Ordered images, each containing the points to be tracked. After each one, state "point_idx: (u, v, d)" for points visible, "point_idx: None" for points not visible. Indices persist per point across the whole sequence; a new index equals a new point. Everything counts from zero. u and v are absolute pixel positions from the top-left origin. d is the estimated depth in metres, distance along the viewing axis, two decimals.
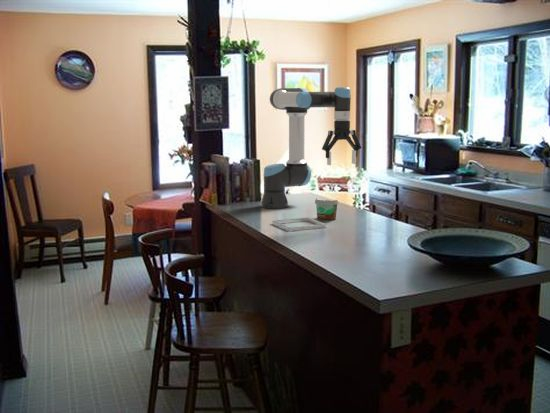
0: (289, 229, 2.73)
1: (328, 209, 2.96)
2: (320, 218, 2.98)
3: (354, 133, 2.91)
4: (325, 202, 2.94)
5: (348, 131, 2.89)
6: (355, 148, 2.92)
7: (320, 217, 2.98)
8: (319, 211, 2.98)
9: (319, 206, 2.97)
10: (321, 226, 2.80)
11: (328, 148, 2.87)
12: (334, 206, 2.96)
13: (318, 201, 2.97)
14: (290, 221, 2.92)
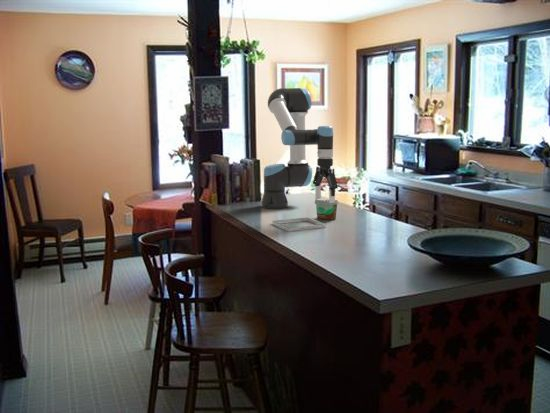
0: (289, 229, 2.73)
1: (328, 209, 2.96)
2: (320, 218, 2.98)
3: (329, 172, 2.88)
4: (325, 202, 2.94)
5: (326, 169, 2.91)
6: (330, 187, 2.89)
7: (320, 217, 2.98)
8: (319, 211, 2.98)
9: (319, 206, 2.97)
10: (321, 226, 2.80)
11: (315, 183, 3.02)
12: (334, 206, 2.96)
13: (318, 201, 2.97)
14: (290, 221, 2.92)
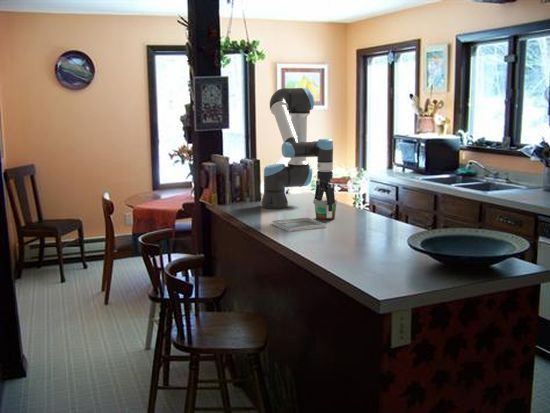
0: (289, 229, 2.73)
1: None
2: (320, 218, 2.97)
3: (328, 187, 2.90)
4: (326, 202, 2.94)
5: (325, 182, 2.93)
6: (327, 202, 2.92)
7: (320, 217, 2.97)
8: (319, 211, 2.97)
9: (319, 206, 2.96)
10: (321, 226, 2.80)
11: (316, 198, 3.02)
12: (334, 206, 2.96)
13: (318, 201, 2.95)
14: (290, 221, 2.92)
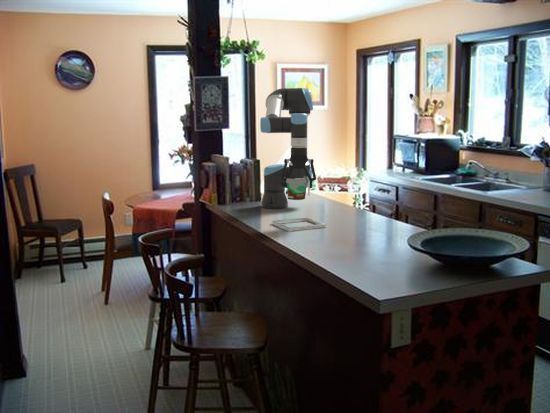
0: (289, 229, 2.73)
1: (306, 186, 2.82)
2: (299, 198, 2.80)
3: (311, 162, 2.78)
4: (306, 180, 2.80)
5: (305, 158, 2.78)
6: (309, 179, 2.80)
7: (300, 197, 2.80)
8: (299, 191, 2.79)
9: (300, 185, 2.78)
10: (321, 226, 2.80)
11: (285, 178, 2.81)
12: None
13: (299, 180, 2.77)
14: (290, 221, 2.92)
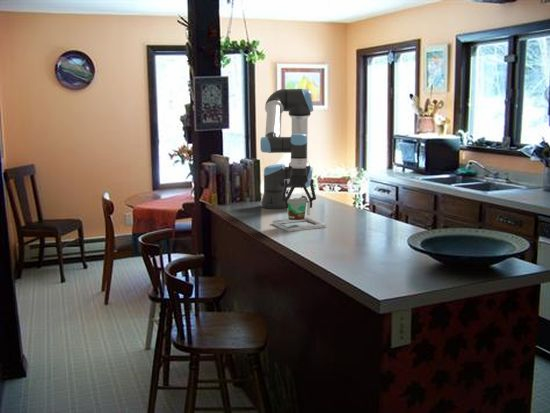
0: (289, 229, 2.73)
1: (305, 206, 2.85)
2: (300, 218, 2.82)
3: (311, 182, 2.81)
4: (306, 199, 2.82)
5: (305, 179, 2.80)
6: (309, 199, 2.82)
7: (300, 217, 2.82)
8: (300, 211, 2.81)
9: (301, 205, 2.80)
10: (321, 226, 2.80)
11: (286, 198, 2.81)
12: None
13: (301, 200, 2.79)
14: (290, 221, 2.92)
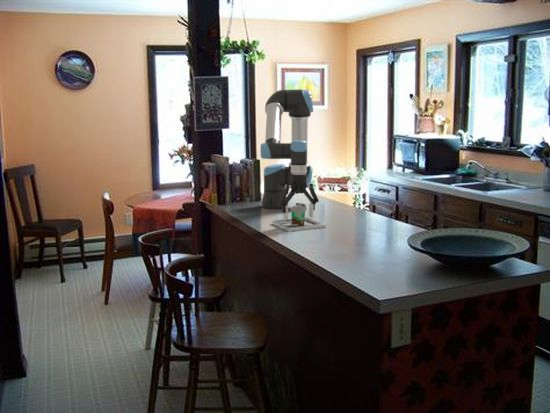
0: (289, 229, 2.73)
1: None
2: (302, 224, 2.83)
3: (311, 186, 2.84)
4: None
5: (305, 185, 2.82)
6: (312, 202, 2.85)
7: (303, 223, 2.83)
8: (302, 217, 2.82)
9: (303, 212, 2.82)
10: (321, 226, 2.80)
11: (284, 203, 2.79)
12: None
13: (303, 207, 2.81)
14: (290, 221, 2.92)
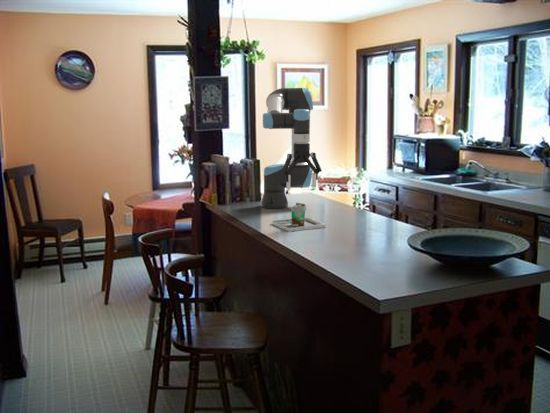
0: (289, 229, 2.73)
1: None
2: (302, 224, 2.83)
3: (314, 156, 2.84)
4: None
5: (308, 154, 2.82)
6: (315, 171, 2.85)
7: (303, 223, 2.83)
8: (302, 217, 2.82)
9: (303, 212, 2.82)
10: (321, 226, 2.80)
11: (287, 172, 2.79)
12: None
13: (303, 207, 2.81)
14: (290, 221, 2.92)
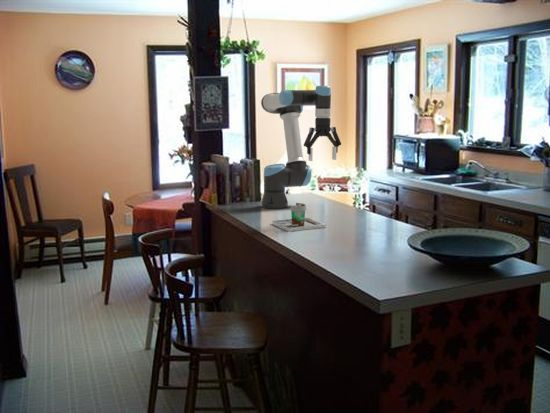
0: (289, 229, 2.73)
1: None
2: (302, 224, 2.83)
3: (334, 130, 3.01)
4: None
5: (329, 128, 3.00)
6: (335, 144, 3.03)
7: (303, 223, 2.83)
8: (302, 217, 2.82)
9: (303, 212, 2.82)
10: (321, 226, 2.80)
11: (309, 144, 2.97)
12: None
13: (303, 207, 2.81)
14: (290, 221, 2.92)
